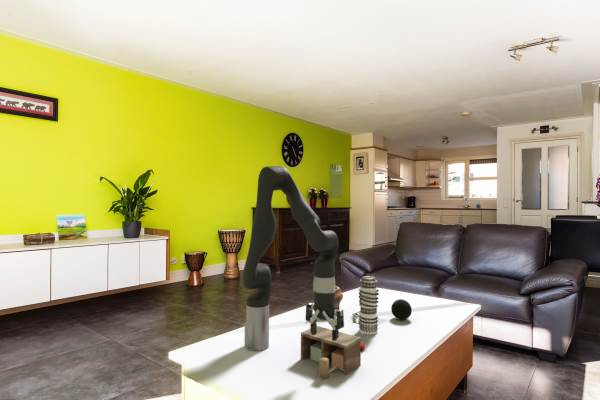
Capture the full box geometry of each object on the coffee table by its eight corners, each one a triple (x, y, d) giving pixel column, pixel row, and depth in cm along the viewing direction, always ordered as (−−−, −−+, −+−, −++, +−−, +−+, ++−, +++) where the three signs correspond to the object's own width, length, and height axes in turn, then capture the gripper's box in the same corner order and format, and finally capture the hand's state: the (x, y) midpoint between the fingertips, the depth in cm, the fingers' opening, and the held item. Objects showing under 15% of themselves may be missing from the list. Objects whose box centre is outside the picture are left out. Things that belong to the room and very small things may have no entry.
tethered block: (315, 376, 123) (315, 359, 123) (338, 361, 135) (339, 345, 135) (327, 381, 120) (327, 363, 120) (350, 365, 131) (350, 348, 132)
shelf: (300, 359, 136) (300, 332, 136) (316, 350, 144) (316, 325, 144) (346, 375, 124) (346, 346, 124) (360, 365, 132) (360, 337, 132)
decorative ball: (407, 324, 177) (407, 303, 177) (388, 319, 183) (388, 300, 183) (414, 318, 185) (414, 299, 185) (395, 315, 191) (395, 296, 191)
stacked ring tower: (378, 335, 161) (379, 279, 161) (357, 333, 163) (358, 278, 163) (378, 328, 170) (378, 275, 170) (358, 327, 172) (359, 274, 172)
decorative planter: (326, 320, 181) (327, 292, 181) (307, 315, 188) (307, 289, 188) (348, 311, 196) (348, 285, 196) (329, 307, 204) (329, 282, 204)
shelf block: (310, 359, 137) (310, 346, 137) (318, 354, 140) (318, 342, 141) (321, 362, 133) (321, 349, 134) (328, 358, 137) (328, 345, 137)
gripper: (301, 288, 124) (300, 335, 124) (335, 294, 115) (335, 345, 115) (313, 284, 130) (313, 329, 130) (348, 290, 121) (348, 339, 121)
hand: (324, 337), depth 122 cm, fingers open, 8 cm apart
